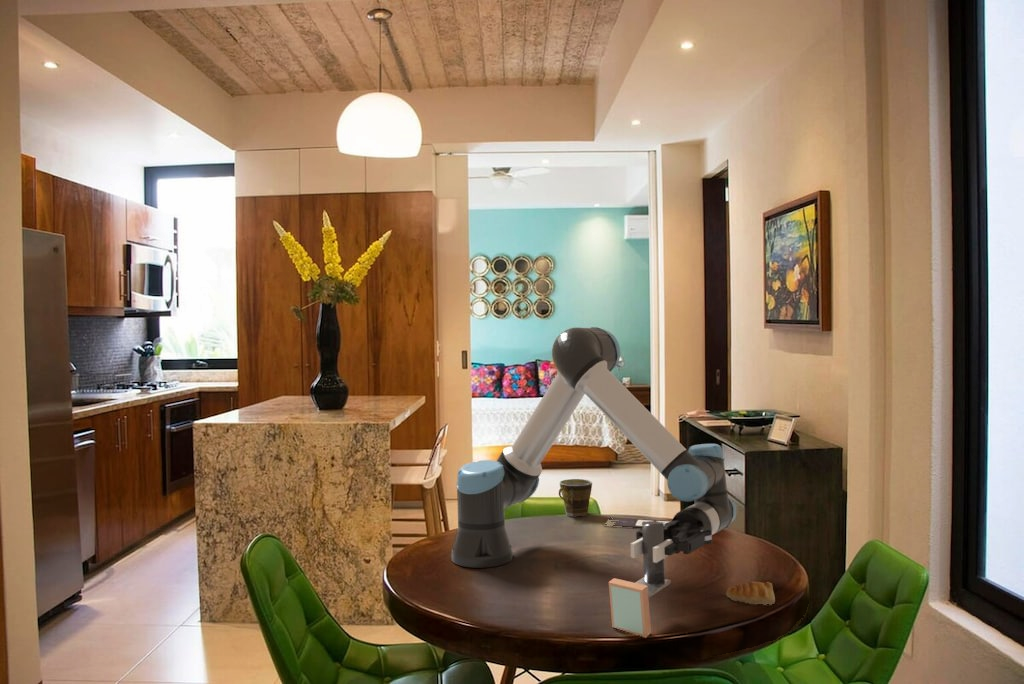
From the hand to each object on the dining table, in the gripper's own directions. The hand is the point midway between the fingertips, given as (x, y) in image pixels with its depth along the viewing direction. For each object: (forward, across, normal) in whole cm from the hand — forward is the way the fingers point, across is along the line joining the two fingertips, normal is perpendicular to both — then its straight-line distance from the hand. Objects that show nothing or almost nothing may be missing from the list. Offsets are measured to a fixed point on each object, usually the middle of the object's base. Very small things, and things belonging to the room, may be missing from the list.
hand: (643, 553), depth 132 cm
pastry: (-24, -12, -14) cm, 30 cm away
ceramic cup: (-60, +56, -15) cm, 83 cm away
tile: (+4, 0, -13) cm, 14 cm away
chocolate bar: (-62, +35, -15) cm, 73 cm away
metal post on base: (-1, 0, -7) cm, 7 cm away
